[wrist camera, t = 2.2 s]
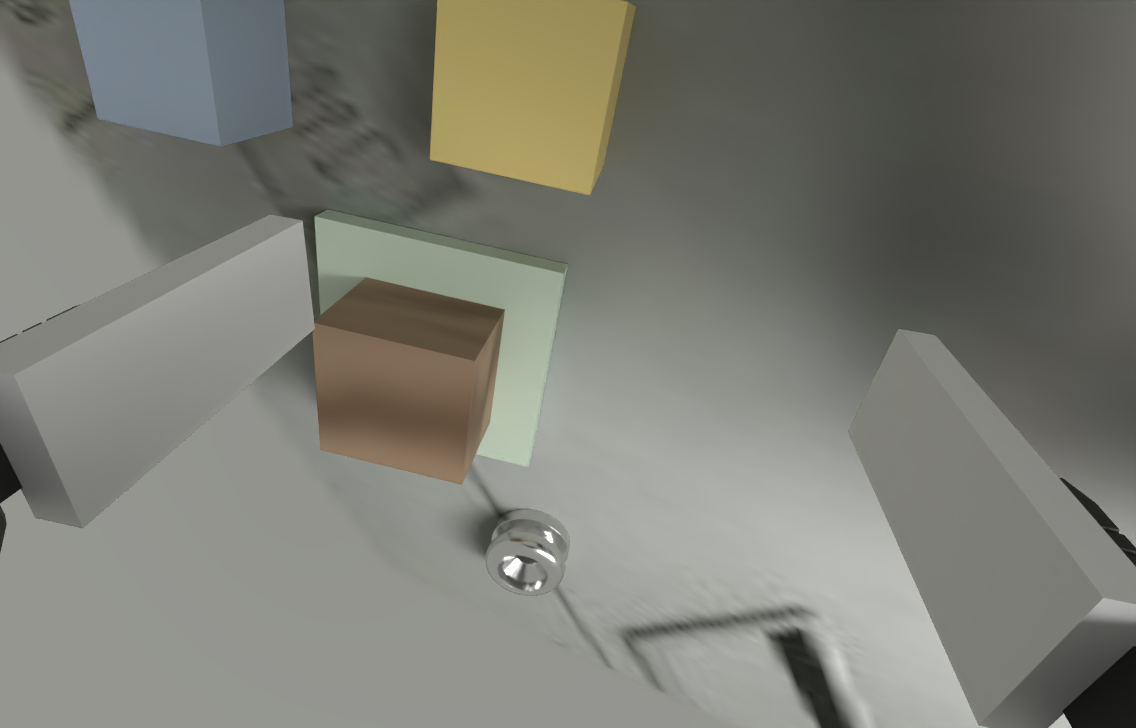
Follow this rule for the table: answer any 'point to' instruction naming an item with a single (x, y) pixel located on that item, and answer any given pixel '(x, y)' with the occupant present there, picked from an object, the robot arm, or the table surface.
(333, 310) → the walnut base
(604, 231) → the table surface
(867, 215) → the table surface
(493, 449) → the build plate
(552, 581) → the metal grooved wheel
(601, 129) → the mustard cube
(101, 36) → the blue cube
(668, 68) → the table surface
